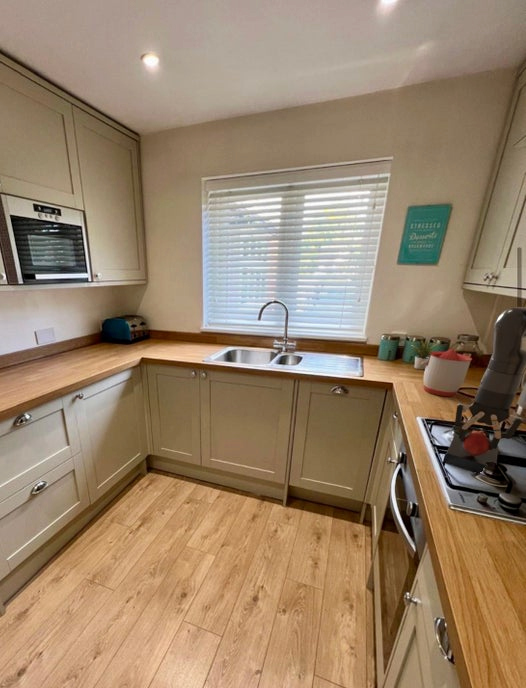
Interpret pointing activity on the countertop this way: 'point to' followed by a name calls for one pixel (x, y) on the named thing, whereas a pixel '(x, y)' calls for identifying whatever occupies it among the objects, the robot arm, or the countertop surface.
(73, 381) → the countertop surface
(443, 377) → the citrus juicer
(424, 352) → the house plant
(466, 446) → the onion
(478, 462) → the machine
